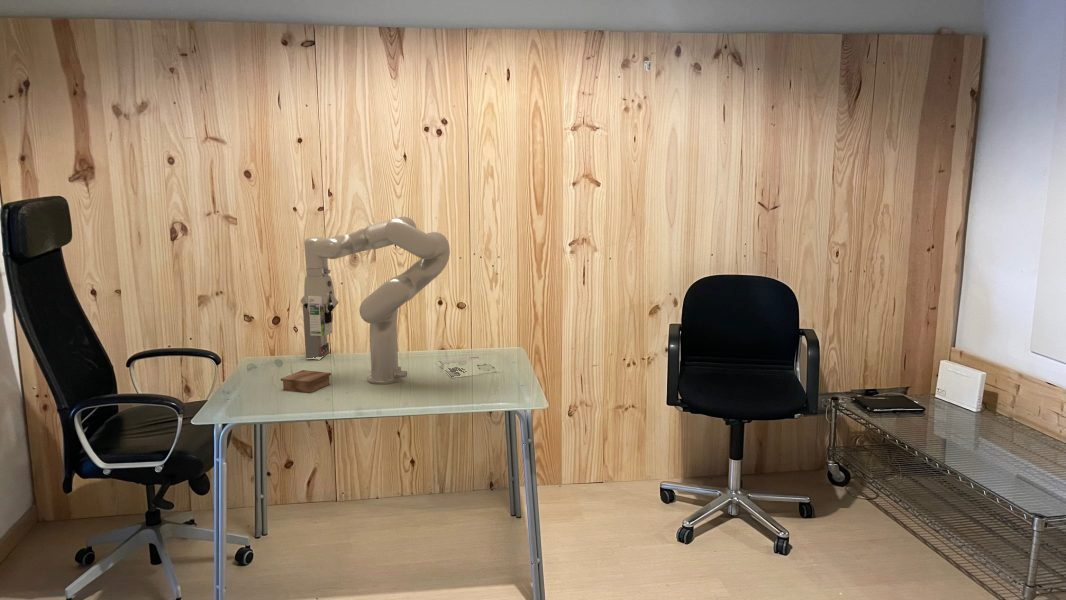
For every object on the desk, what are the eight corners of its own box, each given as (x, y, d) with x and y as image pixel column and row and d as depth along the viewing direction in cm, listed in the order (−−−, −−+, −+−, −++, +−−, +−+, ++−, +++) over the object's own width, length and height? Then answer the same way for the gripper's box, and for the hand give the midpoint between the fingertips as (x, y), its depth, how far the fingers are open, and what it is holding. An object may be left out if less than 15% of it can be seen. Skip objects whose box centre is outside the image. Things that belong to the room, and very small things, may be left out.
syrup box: (309, 335, 275) (307, 295, 273) (319, 332, 281) (316, 293, 279) (323, 336, 274) (321, 296, 271) (333, 333, 279) (330, 293, 277)
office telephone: (434, 358, 299) (484, 353, 306) (435, 365, 299) (484, 360, 307) (451, 372, 278) (503, 366, 285) (451, 379, 278) (503, 373, 285)
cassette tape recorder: (321, 360, 306) (317, 298, 302) (305, 360, 306) (301, 298, 302) (329, 352, 320) (326, 292, 315) (315, 352, 320) (311, 292, 315)
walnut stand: (331, 383, 272) (331, 372, 271) (310, 393, 261) (309, 381, 260) (303, 380, 276) (302, 370, 275) (281, 389, 265) (280, 378, 264)
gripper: (344, 271, 274) (347, 321, 277) (303, 270, 280) (307, 319, 283) (331, 274, 267) (334, 325, 270) (290, 273, 273) (294, 323, 276)
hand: (320, 321), depth 277 cm, fingers closed on syrup box, 5 cm apart
